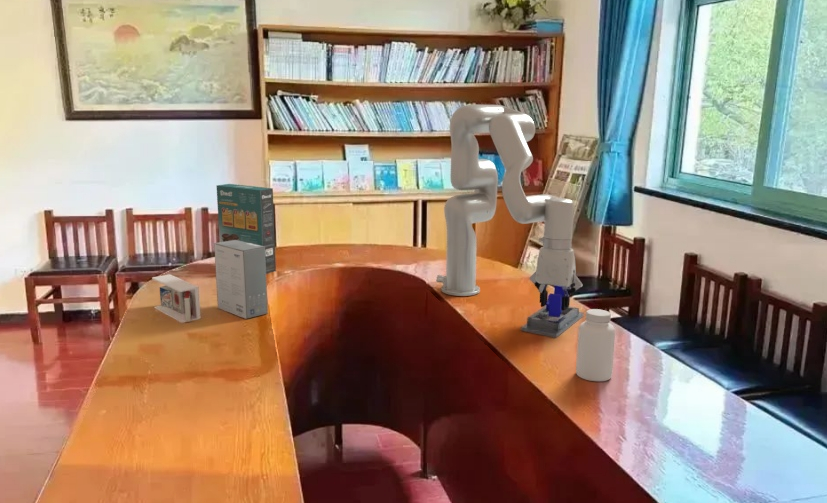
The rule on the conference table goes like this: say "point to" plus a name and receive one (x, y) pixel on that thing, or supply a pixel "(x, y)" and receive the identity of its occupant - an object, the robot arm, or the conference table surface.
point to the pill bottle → (595, 346)
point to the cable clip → (555, 302)
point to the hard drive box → (241, 278)
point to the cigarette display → (178, 298)
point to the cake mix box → (247, 217)
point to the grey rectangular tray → (551, 322)
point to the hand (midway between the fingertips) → (554, 306)
